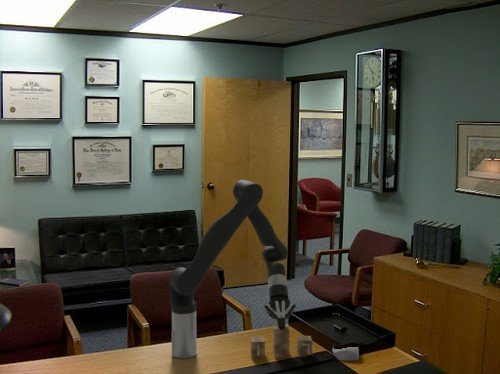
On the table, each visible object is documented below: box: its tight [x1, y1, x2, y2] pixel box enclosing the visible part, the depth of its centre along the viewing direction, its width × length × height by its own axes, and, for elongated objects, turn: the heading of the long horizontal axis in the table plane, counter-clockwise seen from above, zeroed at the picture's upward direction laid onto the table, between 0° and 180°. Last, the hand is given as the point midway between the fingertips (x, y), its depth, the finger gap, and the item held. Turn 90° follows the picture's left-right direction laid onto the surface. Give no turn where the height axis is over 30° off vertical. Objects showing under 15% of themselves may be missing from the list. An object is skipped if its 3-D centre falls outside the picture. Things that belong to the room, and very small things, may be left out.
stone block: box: [331, 346, 360, 361], centre depth 221 cm, size 12×5×10 cm
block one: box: [250, 336, 266, 359], centre depth 219 cm, size 5×5×6 cm
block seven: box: [296, 335, 313, 357], centre depth 220 cm, size 5×5×6 cm
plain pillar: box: [273, 326, 290, 359], centre depth 220 cm, size 6×6×10 cm
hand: (281, 328), depth 219 cm, fingers closed
